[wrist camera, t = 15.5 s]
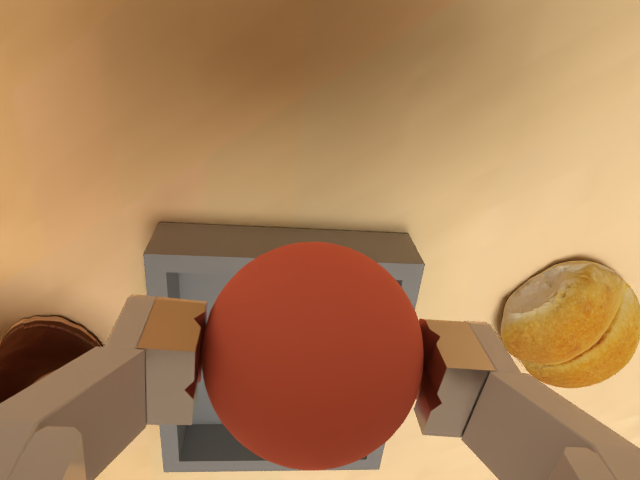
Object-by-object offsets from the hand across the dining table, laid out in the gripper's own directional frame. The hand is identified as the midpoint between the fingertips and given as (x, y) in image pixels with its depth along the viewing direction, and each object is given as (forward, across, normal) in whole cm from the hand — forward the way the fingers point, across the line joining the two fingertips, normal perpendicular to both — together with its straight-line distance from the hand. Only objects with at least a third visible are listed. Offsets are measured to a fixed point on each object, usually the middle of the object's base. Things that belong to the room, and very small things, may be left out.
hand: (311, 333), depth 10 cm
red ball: (0, 0, 0) cm, 0 cm away
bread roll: (+16, -19, +10) cm, 27 cm away
